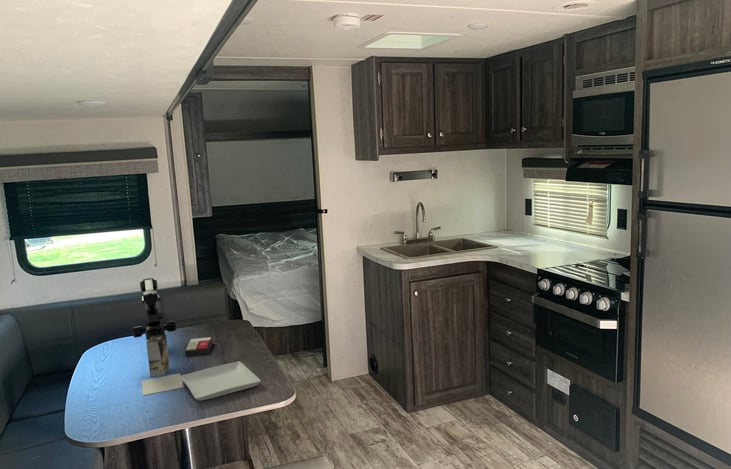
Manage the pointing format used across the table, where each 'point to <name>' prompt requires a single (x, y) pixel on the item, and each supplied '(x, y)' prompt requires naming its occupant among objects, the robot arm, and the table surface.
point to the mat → (161, 384)
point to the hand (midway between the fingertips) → (156, 345)
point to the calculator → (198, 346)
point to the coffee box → (158, 355)
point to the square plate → (219, 380)
